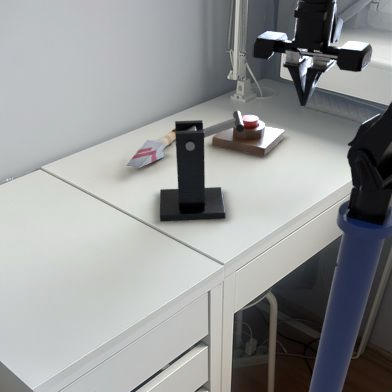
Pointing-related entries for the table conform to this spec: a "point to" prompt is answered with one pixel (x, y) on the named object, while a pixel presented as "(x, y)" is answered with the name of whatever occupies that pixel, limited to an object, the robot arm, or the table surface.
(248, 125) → the button
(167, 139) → the garden trowel
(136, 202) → the table surface
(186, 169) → the bracket
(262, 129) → the button block
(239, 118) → the lever
